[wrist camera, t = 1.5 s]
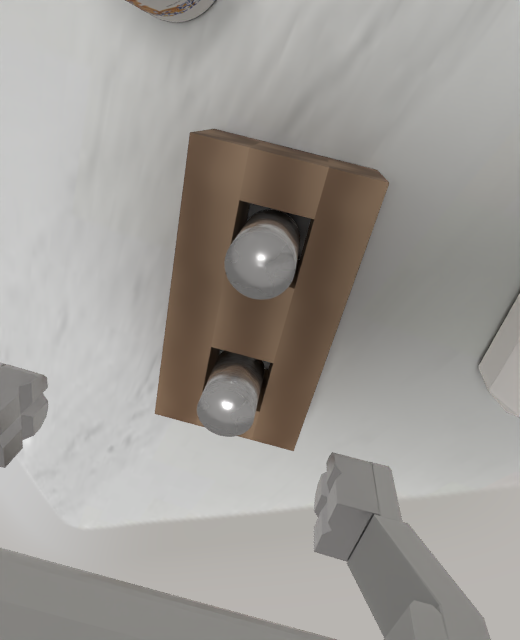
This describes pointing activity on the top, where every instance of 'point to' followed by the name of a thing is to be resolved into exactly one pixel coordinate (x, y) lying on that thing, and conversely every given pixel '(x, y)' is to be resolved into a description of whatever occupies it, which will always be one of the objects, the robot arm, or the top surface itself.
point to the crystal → (516, 375)
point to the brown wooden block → (270, 314)
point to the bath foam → (173, 8)
